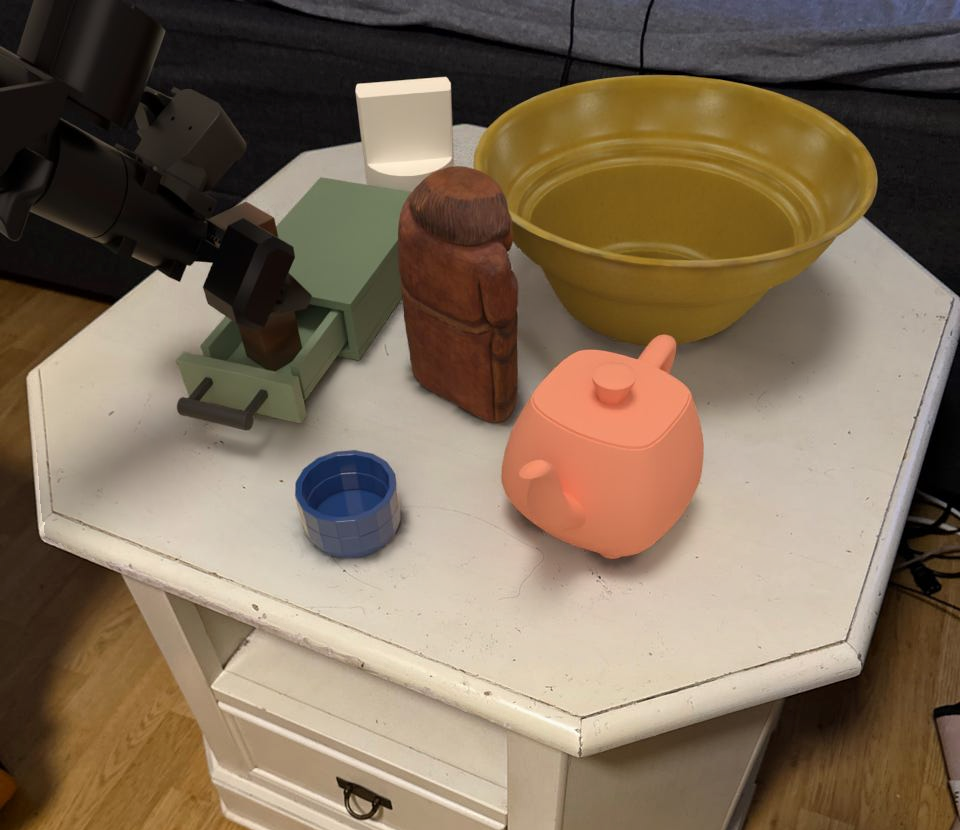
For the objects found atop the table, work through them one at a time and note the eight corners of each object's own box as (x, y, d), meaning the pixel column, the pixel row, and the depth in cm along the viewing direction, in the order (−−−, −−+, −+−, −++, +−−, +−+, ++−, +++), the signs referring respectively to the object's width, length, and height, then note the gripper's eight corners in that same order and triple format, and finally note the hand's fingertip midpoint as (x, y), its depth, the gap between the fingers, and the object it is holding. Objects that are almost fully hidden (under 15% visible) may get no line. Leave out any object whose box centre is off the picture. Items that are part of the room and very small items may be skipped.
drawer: (277, 457, 68) (266, 419, 65) (162, 430, 70) (147, 392, 67) (384, 304, 79) (379, 265, 76) (283, 284, 82) (275, 246, 78)
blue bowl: (304, 563, 62) (293, 525, 59) (306, 493, 67) (296, 454, 63) (403, 555, 63) (398, 516, 59) (398, 485, 67) (393, 446, 64)
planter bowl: (523, 196, 92) (526, 54, 81) (832, 235, 87) (881, 88, 76) (433, 381, 74) (421, 231, 63) (816, 445, 69) (876, 292, 58)
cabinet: (359, 361, 76) (350, 304, 71) (243, 336, 78) (227, 280, 74) (434, 250, 86) (430, 195, 82) (329, 232, 88) (320, 176, 84)
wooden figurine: (543, 396, 73) (555, 181, 58) (494, 435, 70) (493, 219, 55) (441, 341, 77) (428, 129, 63) (392, 376, 75) (366, 162, 60)
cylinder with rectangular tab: (450, 187, 93) (445, 63, 84) (461, 231, 88) (456, 104, 78) (368, 195, 93) (352, 70, 83) (373, 239, 87) (358, 112, 78)
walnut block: (271, 373, 72) (236, 236, 62) (246, 356, 73) (207, 218, 64) (304, 354, 73) (274, 217, 64) (278, 338, 75) (245, 200, 65)
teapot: (443, 560, 62) (432, 429, 52) (581, 408, 72) (594, 273, 62) (604, 642, 58) (626, 516, 48) (729, 468, 67) (768, 333, 57)
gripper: (236, 110, 49) (396, 223, 63) (66, 24, 57) (241, 141, 70) (163, 294, 52) (330, 363, 66) (12, 189, 60) (189, 270, 73)
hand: (271, 278), depth 69 cm, fingers open, 9 cm apart
